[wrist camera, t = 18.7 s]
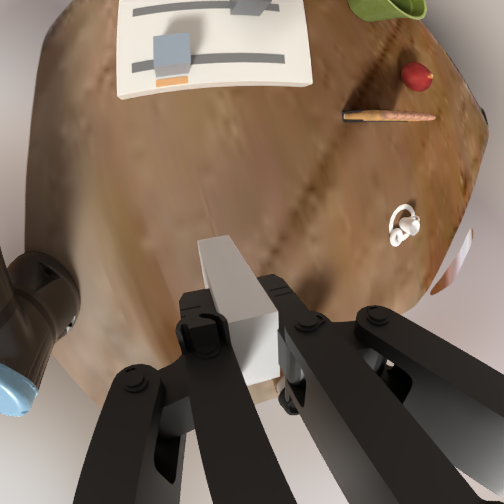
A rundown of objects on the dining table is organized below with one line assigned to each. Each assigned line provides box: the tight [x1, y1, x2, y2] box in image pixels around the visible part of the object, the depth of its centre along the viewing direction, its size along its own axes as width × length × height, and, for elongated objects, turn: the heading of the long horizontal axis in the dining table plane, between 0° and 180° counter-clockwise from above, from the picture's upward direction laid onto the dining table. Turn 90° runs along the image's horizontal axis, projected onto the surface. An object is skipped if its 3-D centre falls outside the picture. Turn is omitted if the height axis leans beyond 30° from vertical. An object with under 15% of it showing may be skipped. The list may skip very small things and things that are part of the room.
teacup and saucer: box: [389, 204, 420, 246], centre depth 49 cm, size 9×8×4 cm
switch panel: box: [117, 0, 313, 100], centre depth 28 cm, size 26×16×3 cm, turn 94°
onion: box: [401, 62, 433, 92], centre depth 35 cm, size 6×6×8 cm
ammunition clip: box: [342, 110, 436, 122], centre depth 34 cm, size 11×2×12 cm, turn 100°
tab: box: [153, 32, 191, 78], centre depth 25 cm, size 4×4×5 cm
